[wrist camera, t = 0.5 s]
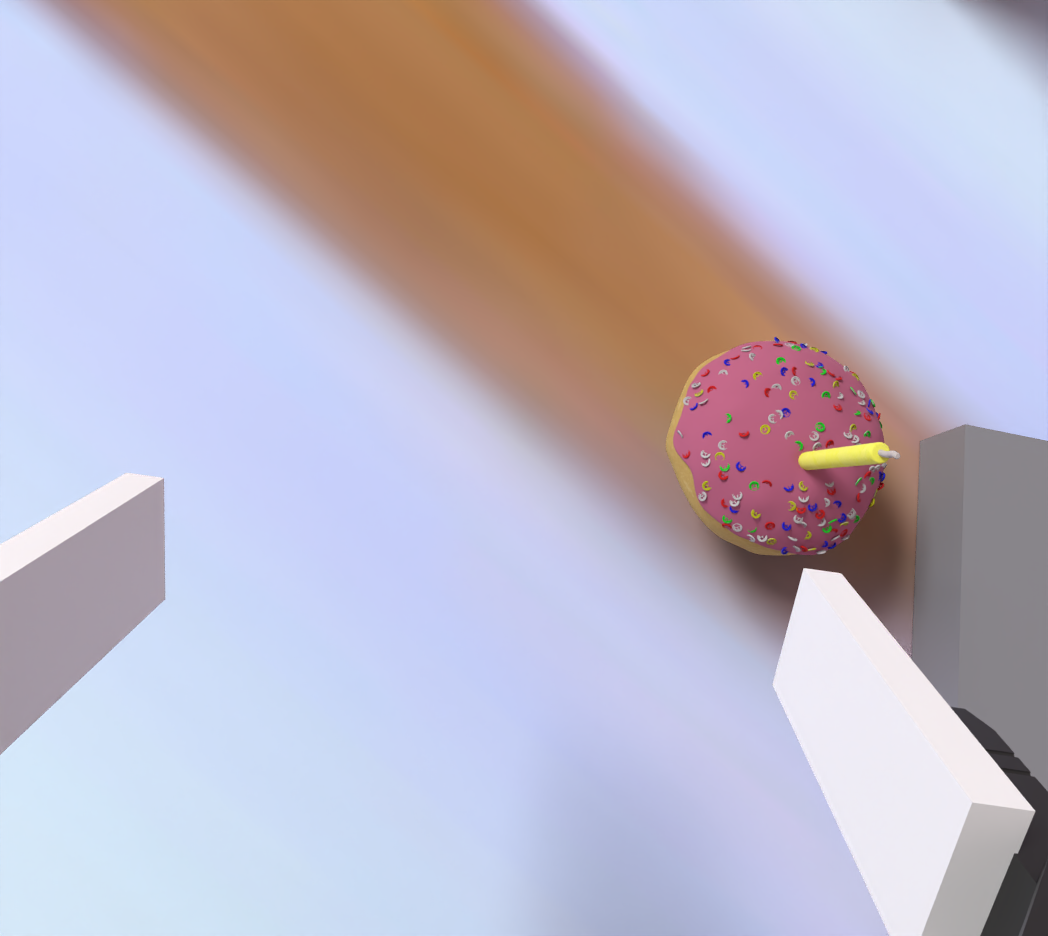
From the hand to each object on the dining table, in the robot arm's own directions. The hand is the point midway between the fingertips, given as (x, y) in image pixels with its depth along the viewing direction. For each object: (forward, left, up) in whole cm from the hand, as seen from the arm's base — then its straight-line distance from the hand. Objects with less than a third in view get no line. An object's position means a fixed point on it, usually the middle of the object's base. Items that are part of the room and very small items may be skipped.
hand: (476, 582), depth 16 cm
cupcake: (+8, -11, -16) cm, 21 cm away
